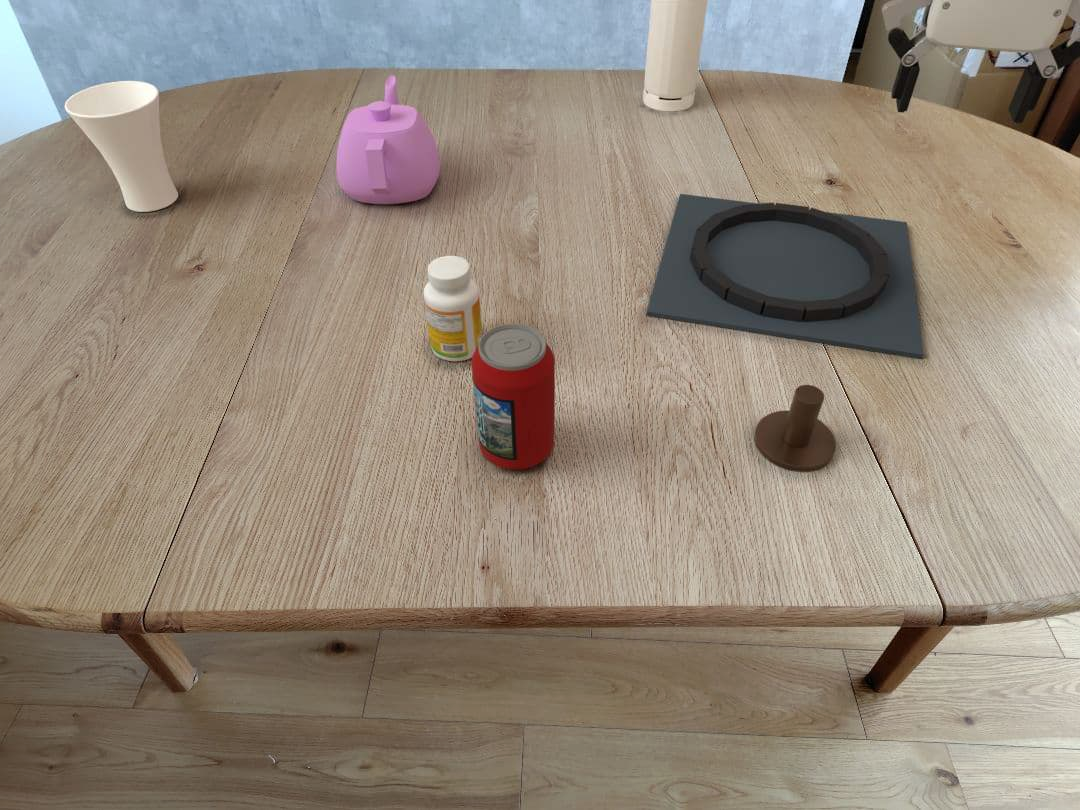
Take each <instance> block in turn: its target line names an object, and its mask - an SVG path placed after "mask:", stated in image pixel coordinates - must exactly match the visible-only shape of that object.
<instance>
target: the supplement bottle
mask: <svg viewBox="0 0 1080 810" xmlns="http://www.w3.org/2000/svg"><path fill="white" fill-rule="evenodd" d="M471 273H472V272H471V265H470V263H469V261H468V260H467V259H465V258H463V257H462V256H458V255H443V256H440V257H437V258H435V259H433V260H432V261H431V262H429V264H428V266H427V279H428V281H427V283H426V284H425V286H424V288H423V302H424V309H425V317H426V321H427V322H426V323H427V328H428V330H427V331H428V335H429V337H428V338H429V344H430V348H431V351H432V353H433V354H434V355H435V356H437V357H438V358H439V359H442V360H444V361H449V362H463V361H467V360H470V359H472V356H473V354H474V352H475V350H476V349H477V347H478V345H479V341H480V339H481V337H482V336H483V335H484V334H483V327H482V313H481V299H480V291H479V286H478V284H477V282H476V281H475V280H474V279H473V278H472V277H471V276H472V275H471Z"/></svg>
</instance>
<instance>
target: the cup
mask: <svg viewBox="0 0 1080 810" xmlns="http://www.w3.org/2000/svg"><path fill="white" fill-rule="evenodd" d="M159 92H160V91H159V90H158V89H157V87H156V86H155V85H153V84H151V83H149V82H145V81H138V80H120V81H112V82H111V81H110V82H105V83H102V84H100V83H99V84H95V85H93V86H89V87H86V88H84V89H82V90H80V91H77V92H76V93H74V94H73V95H71V96H70V97H68V99H66V100H65V103H64V109H65V111H66V113H67V114H68V115H69V116H70V117H71V118H72V120H73V121H74V123H76V124H77V126H78V127H79V128H80V129H81V130H82V132H83V133H84V134H85V135H86V137H88V139H89V140H90V141H91V143H92V144H93V145H94V146H95V147H96V149H97V150H98V151H99V152H100V154H101V156H102V157H103V158H104V161H105V162H106V163H107V165H108V166H109V168H110V169H111V171H112V173H113V174H114V177H115V179H116V181H117V183H118V185H119V188H120V190H121V194H122V197H123V200H124V202H125V206H126V208H127V209H129V210H130V211H133V212H140V213H149V212H154V211H158V210H161V209H164V208H167V207H169V206H170V205H172V204H173V203H175V202H176V201H177V199H178V198H179V192H178V190H177V188H176V186H175V184H174V183H173V180H172V178H171V176H170V173H169V170H168V169H169V168H168V166H167V163H166V159H165V156H164V150H163V144H162V138H161V124H160V123H161V122H160V95H159V94H160V93H159Z"/></svg>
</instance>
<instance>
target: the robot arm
mask: <svg viewBox="0 0 1080 810" xmlns="http://www.w3.org/2000/svg"><path fill="white" fill-rule="evenodd" d="M922 9H923V13H922V19H921V25H923V27H922V28H920V29H919V30H918V31H917V32H916V33H915V34H913V35H912V36H911V37H909V36H908V35H907V33H906V32H905V30H904V29H903V26H902V19H903V17H905V16H906V15H908V14H911V13H913V12H916V11H919V10H922ZM881 13H882V14H881V15H882V18H883V23H884V26H885V32H886V37H887V40H888V41H887V42H888V44H889V45H890V46H891V48H892V49H893V51H894V52H895V54H896V56H897V57H898V58H899V60H900V63H899V67H898V70H897V72H896V76H895V79H894V82H893V85H892V90H891V93H890V94H891V95H890V96H891V99H893V100H896V101H895V102H896V109H897V113H902V114H904V113H905V112H908V109H909V106H910V102H911V99H912V97H913V93H914V90H915V86H916V84H917V81H918V78H919V74H920V71H921V68H920V64H919V62H920V60H921V59H923V58H924V57H925V56H926V55H927V54H929V53H930V52H931V51H933V50H935V48H936V47H938V46H939V47H944V48H954V49H966V50H967V49H968V50H979V51H981V50H983V51H994V52H1005V53H1021V54H1022V53H1026V54H1029V53H1030V54H1031V57H1032V59H1033V61H1032V63H1031V64H1028V65H1027V67H1025V68H1024V70H1023V71H1022V74H1021V77H1020V78H1019V81H1018V84H1017V86H1016V89H1015V91H1014V94H1013V96H1012V99H1011V101H1010V104H1009V106H1008V112H1009V115H1010V118H1011V120H1012V122H1014V124H1023V123H1024V121H1025V119H1026V117H1027V114H1028V112H1033V111H1035V109H1036V107H1037V104H1038V102H1039V99H1040V97H1041V96H1042V93H1043V91H1044V88H1045V86H1046V84H1047V81H1048V80H1049V78H1050V79H1051V78H1052V77H1054V76H1055V75H1056V74H1057V73H1058V71H1059V70H1060V69H1062V68H1064V67H1066V66H1067V65H1069V64H1071V63H1073V62H1074V61H1075V60H1077V59H1078V58H1080V28H1079V29H1078V30H1077V31H1076V32H1075V33H1074V34H1073V36H1072V37H1070V38H1068V39H1066V40H1065V41H1064V42H1061V43H1060V44H1059V45H1057V46H1055V47H1053V48H1052V49H1051V48H1050V47H1051V46H1052V45H1053V44H1054V43H1055V41H1056V39H1057V37H1058V35H1059V33H1060V31H1061V29H1062V27H1063V24H1064V23H1065V20H1066V17H1069V18H1070V19H1071V20H1072V21H1074V22H1075V23H1076V24H1078V25H1079V26H1080V0H889V1H887V2H885V3H883V5H882V7H881Z"/></svg>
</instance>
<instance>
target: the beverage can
mask: <svg viewBox="0 0 1080 810" xmlns="http://www.w3.org/2000/svg"><path fill="white" fill-rule="evenodd" d="M482 335H483V336H482V337H481V339H480V341H479V345H478V347H477V349H476V350H475V352H474V354H473V356H472V357H471V360H470V361H471V375H472V385H473V397H474V399H473V400H474V409H475V420H476V428H477V436H478V446H479V450H480V452H481V454H482V456H483V457H484V458H485V459H486V460H487V461H488V462H490V463H491V464H492V465H495V466H497V467H499V468H502V469H507V470H523V469H529V468H533V467H534V466H537V465H539V464H540V463H542V462H543V461H544V460H546V459H547V458H548V457H549V455H550V454H551V453H552V451H553V448H554V445H555V420H556V419H555V415H556V414H555V406H556V401H555V399H556V391H555V390H556V383H555V382H556V377H555V375H556V372H555V371H556V370H555V368H556V367H555V365H556V363H555V362H556V360H555V354H554V353H553V351H552V348H550V346H549V344H548V343H547V341H546V339H545V337H544V335H543V333H542V332H540V331H539V330H538V329H536V328H535V327H533V326H529V325H527V324H523V323H522V324H521V323H505V324H501V325H497V326H494V327H492V328H490V329H489V330H487V331H486V332H484V334H482Z"/></svg>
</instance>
